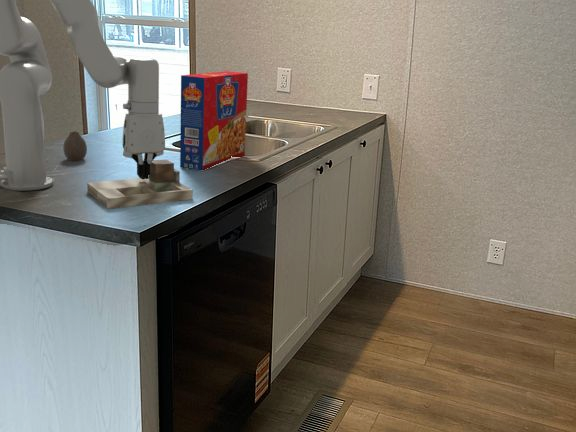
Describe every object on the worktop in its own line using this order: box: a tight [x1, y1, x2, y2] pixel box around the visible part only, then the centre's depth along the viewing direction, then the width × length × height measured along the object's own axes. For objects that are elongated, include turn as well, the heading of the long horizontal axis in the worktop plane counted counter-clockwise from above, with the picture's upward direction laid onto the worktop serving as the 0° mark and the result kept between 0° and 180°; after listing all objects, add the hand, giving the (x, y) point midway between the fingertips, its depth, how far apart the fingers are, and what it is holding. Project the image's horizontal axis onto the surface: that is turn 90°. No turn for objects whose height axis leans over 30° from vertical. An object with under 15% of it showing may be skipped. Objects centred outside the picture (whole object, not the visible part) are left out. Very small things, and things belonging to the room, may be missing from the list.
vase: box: [62, 130, 88, 162], centre depth 196 cm, size 7×7×9 cm
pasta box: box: [179, 70, 249, 171], centre depth 202 cm, size 28×8×28 cm, turn 157°
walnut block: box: [149, 159, 175, 183], centre depth 168 cm, size 5×5×5 cm
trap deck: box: [86, 168, 194, 210], centre depth 162 cm, size 22×16×6 cm
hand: (143, 177), depth 166 cm, fingers closed
